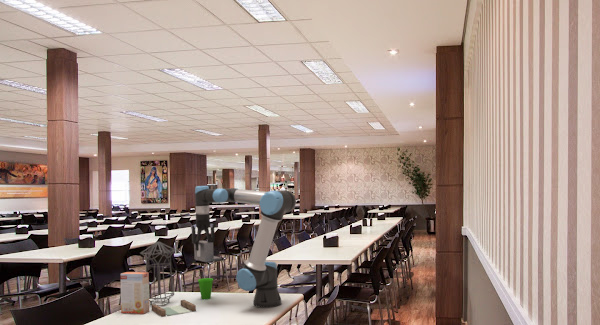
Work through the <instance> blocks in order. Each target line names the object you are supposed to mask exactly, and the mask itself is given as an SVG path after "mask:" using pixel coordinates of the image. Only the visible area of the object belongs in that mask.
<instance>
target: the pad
mask: <svg viewBox="0 0 600 325" xmlns="http://www.w3.org/2000/svg"><path fill="white" fill-rule="evenodd" d="M162 308H163V309H164V310H166V316H167V317H170V316H175V315H182V314H186V313H187V314H188V313H191V311H190V310H188V309H186V308H184V307H182V306H181V305H179V304H178V305H174V306H172V305H171V306H166V307H162Z"/></svg>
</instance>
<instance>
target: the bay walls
mask: <svg viewBox="0 0 600 325" xmlns="http://www.w3.org/2000/svg"><path fill="white" fill-rule="evenodd" d="M157 305H158V304H156V303H154V304H153V303H152V305H151V312H154V313H155V314H157V315H158V316H160V317H162V318H163V317H166V316H167V315H166V310H164V309H163V308H164V307H162V306H157ZM180 306H181V307H183V308H185V309H187V310H189V311H190V312H192V313H193V312H197V306H196V305H195V304H194V303H192V302H189V301H187V300H185V299H182V300H181V299H180Z"/></svg>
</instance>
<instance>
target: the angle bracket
mask: <svg viewBox="0 0 600 325" xmlns="http://www.w3.org/2000/svg"><path fill="white" fill-rule="evenodd" d="M199 245H200V257H198V256H197V251H196V246H195V244H193V248H194V249H193V250H194V254H193V255H194V256H193V257H194V260H196V261H200V262H203V263H208V262H209V263H210V262H211V263H212V262H217V261H223V257H220V256H216V255H214V253H215V252H214V242H208V240H199Z"/></svg>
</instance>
